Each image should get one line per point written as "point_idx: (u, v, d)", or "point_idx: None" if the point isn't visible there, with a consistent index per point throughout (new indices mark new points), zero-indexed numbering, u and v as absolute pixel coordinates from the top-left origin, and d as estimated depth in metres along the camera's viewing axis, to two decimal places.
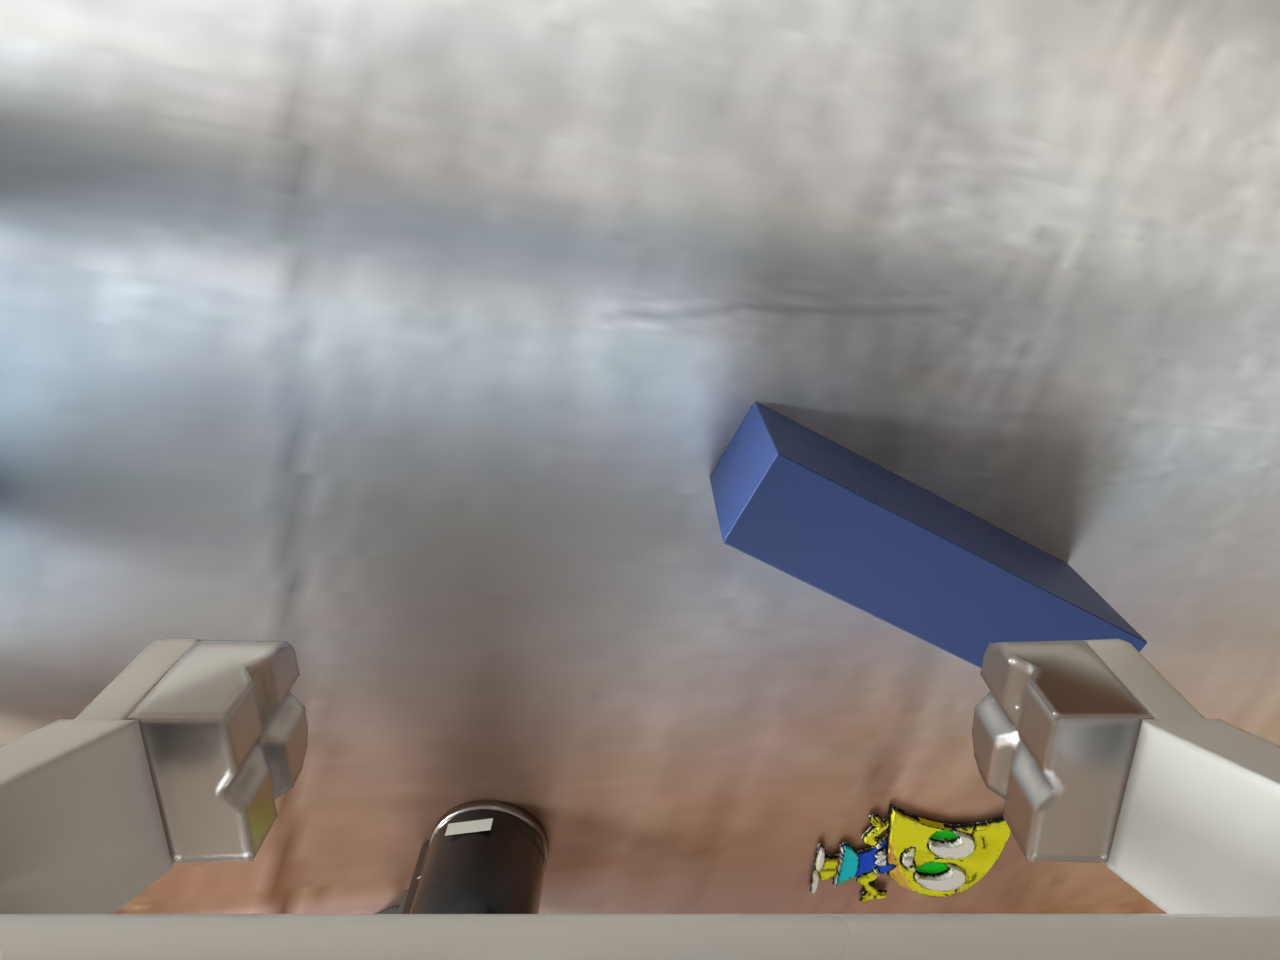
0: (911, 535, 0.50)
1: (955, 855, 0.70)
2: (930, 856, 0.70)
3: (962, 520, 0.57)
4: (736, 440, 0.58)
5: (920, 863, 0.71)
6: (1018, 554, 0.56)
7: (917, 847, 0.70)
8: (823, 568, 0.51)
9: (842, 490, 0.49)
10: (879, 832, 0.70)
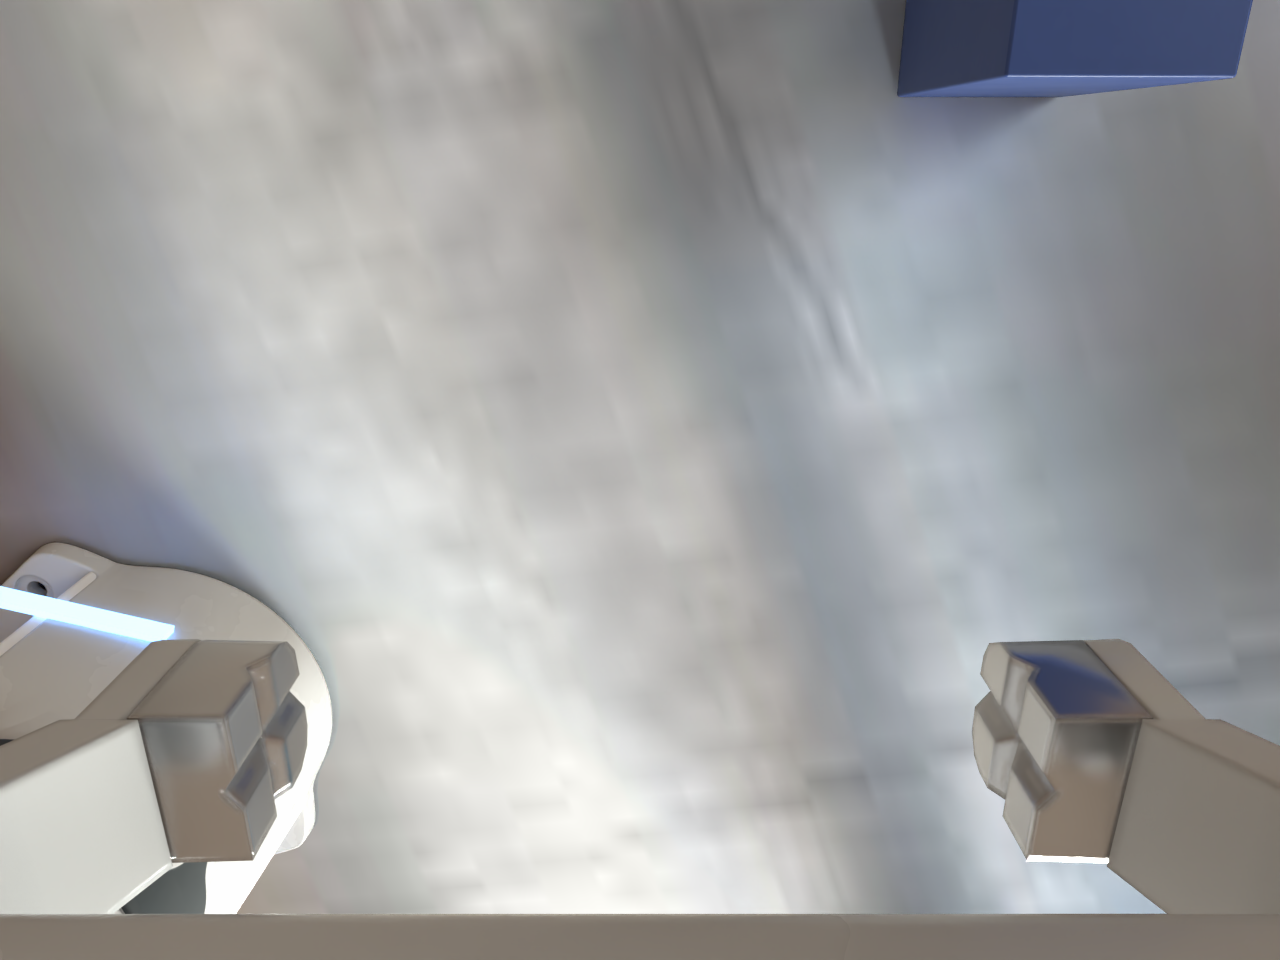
0: None
1: None
2: None
3: None
4: (978, 95, 0.32)
5: None
6: None
7: None
8: None
9: None
10: None
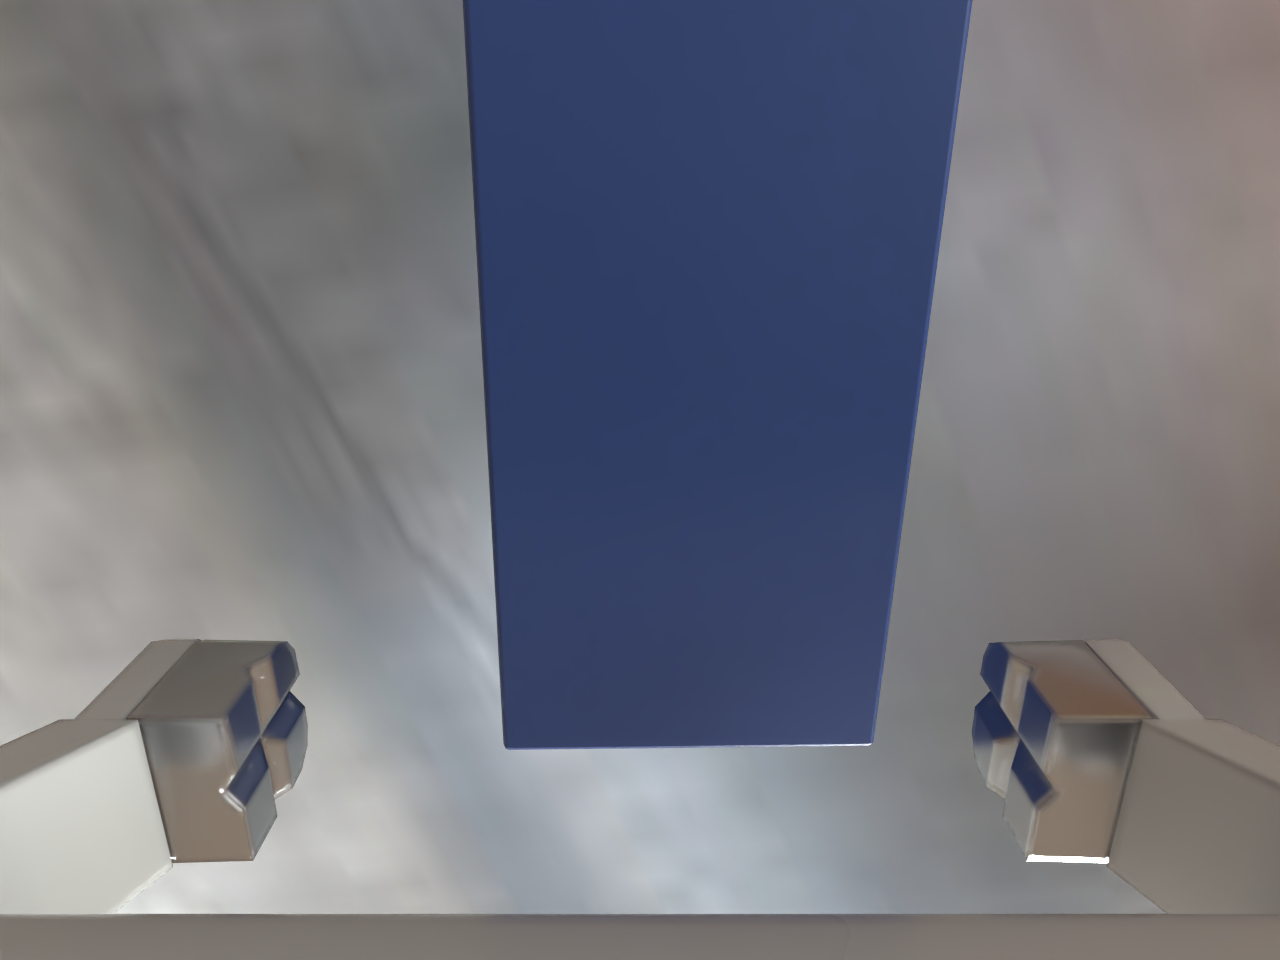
0: (529, 146, 0.11)
1: None
2: None
3: None
4: None
5: None
6: None
7: None
8: (831, 400, 0.12)
9: (505, 509, 0.13)
10: None
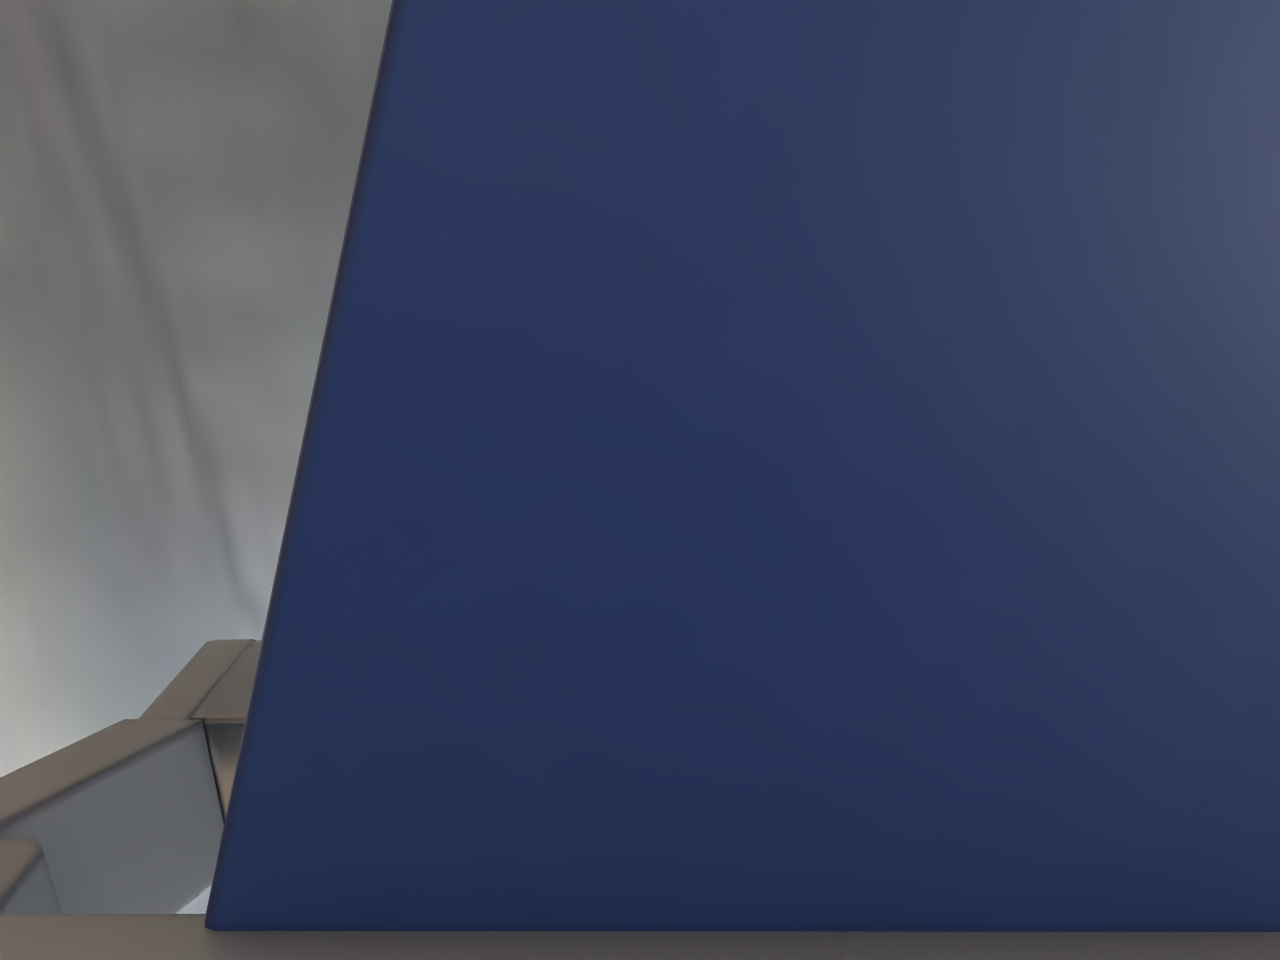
0: None
1: None
2: None
3: None
4: None
5: None
6: None
7: None
8: (1107, 875, 0.05)
9: (246, 887, 0.05)
10: None
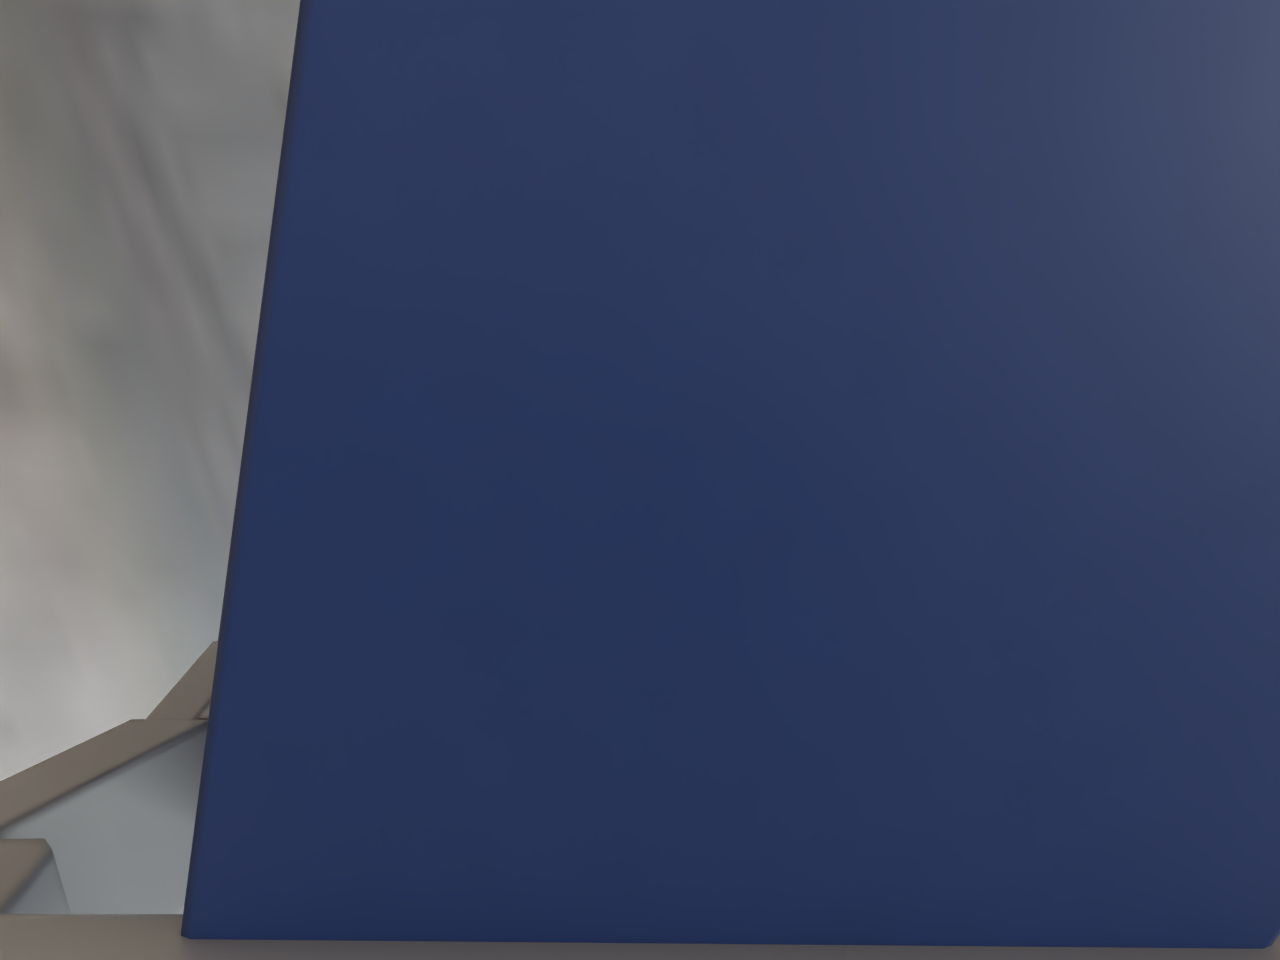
0: None
1: None
2: None
3: None
4: None
5: None
6: None
7: None
8: (1104, 853, 0.05)
9: (218, 890, 0.05)
10: None
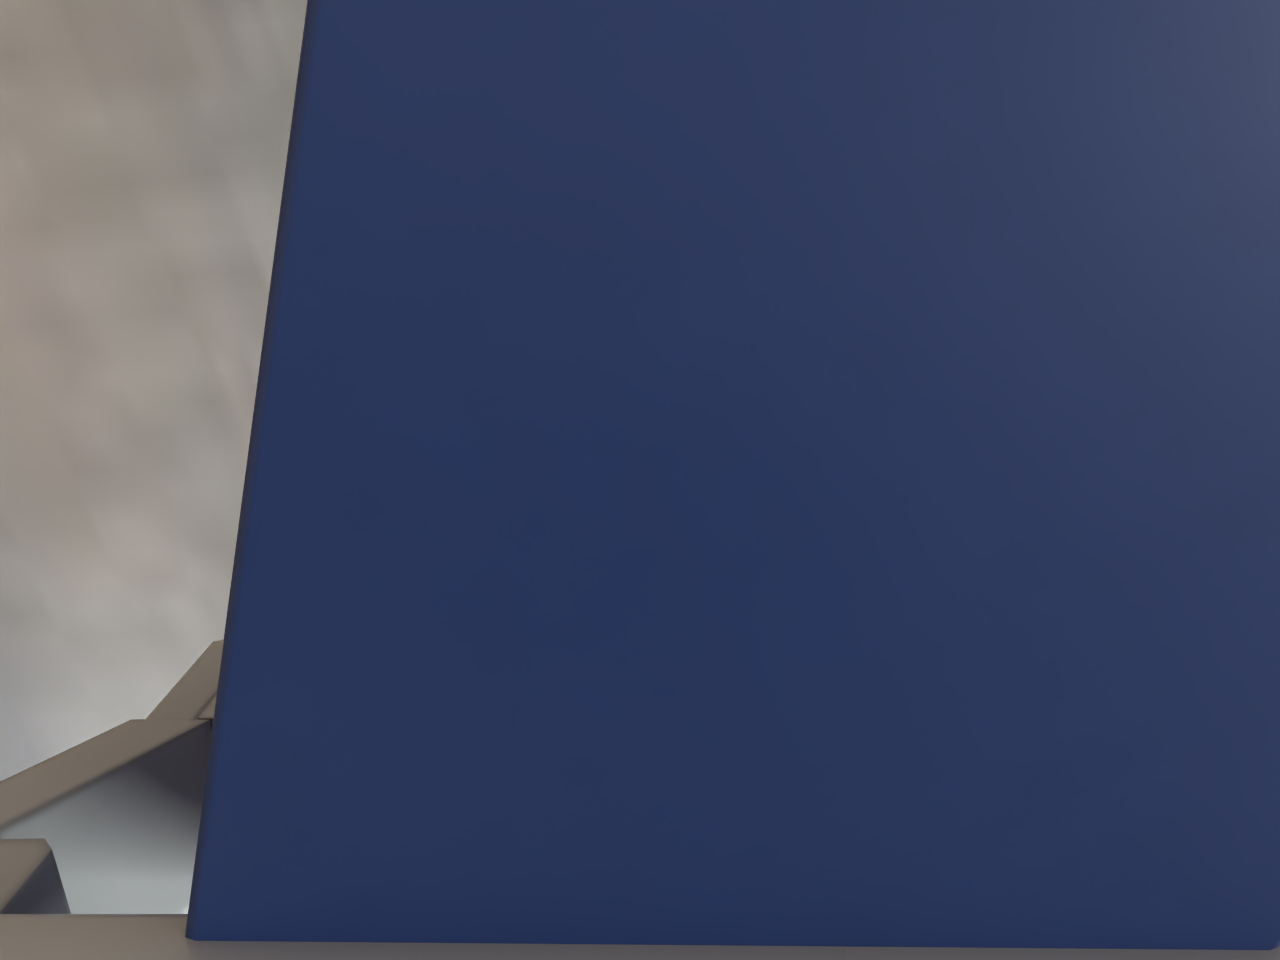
0: None
1: None
2: None
3: None
4: None
5: None
6: None
7: None
8: (1111, 853, 0.05)
9: (224, 889, 0.05)
10: None
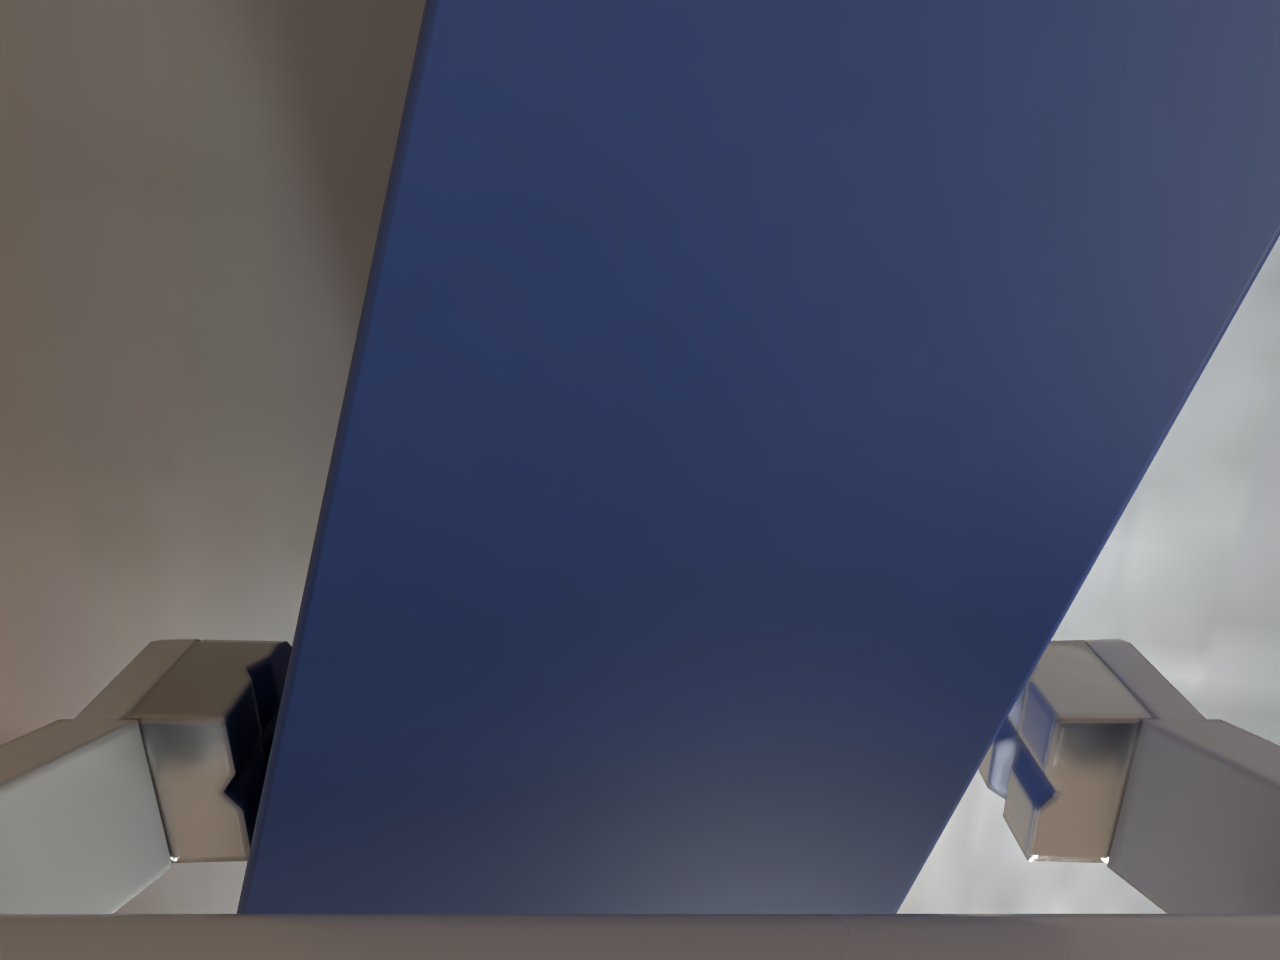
0: (540, 40, 0.06)
1: None
2: None
3: None
4: None
5: None
6: None
7: None
8: (911, 626, 0.07)
9: (316, 663, 0.07)
10: None
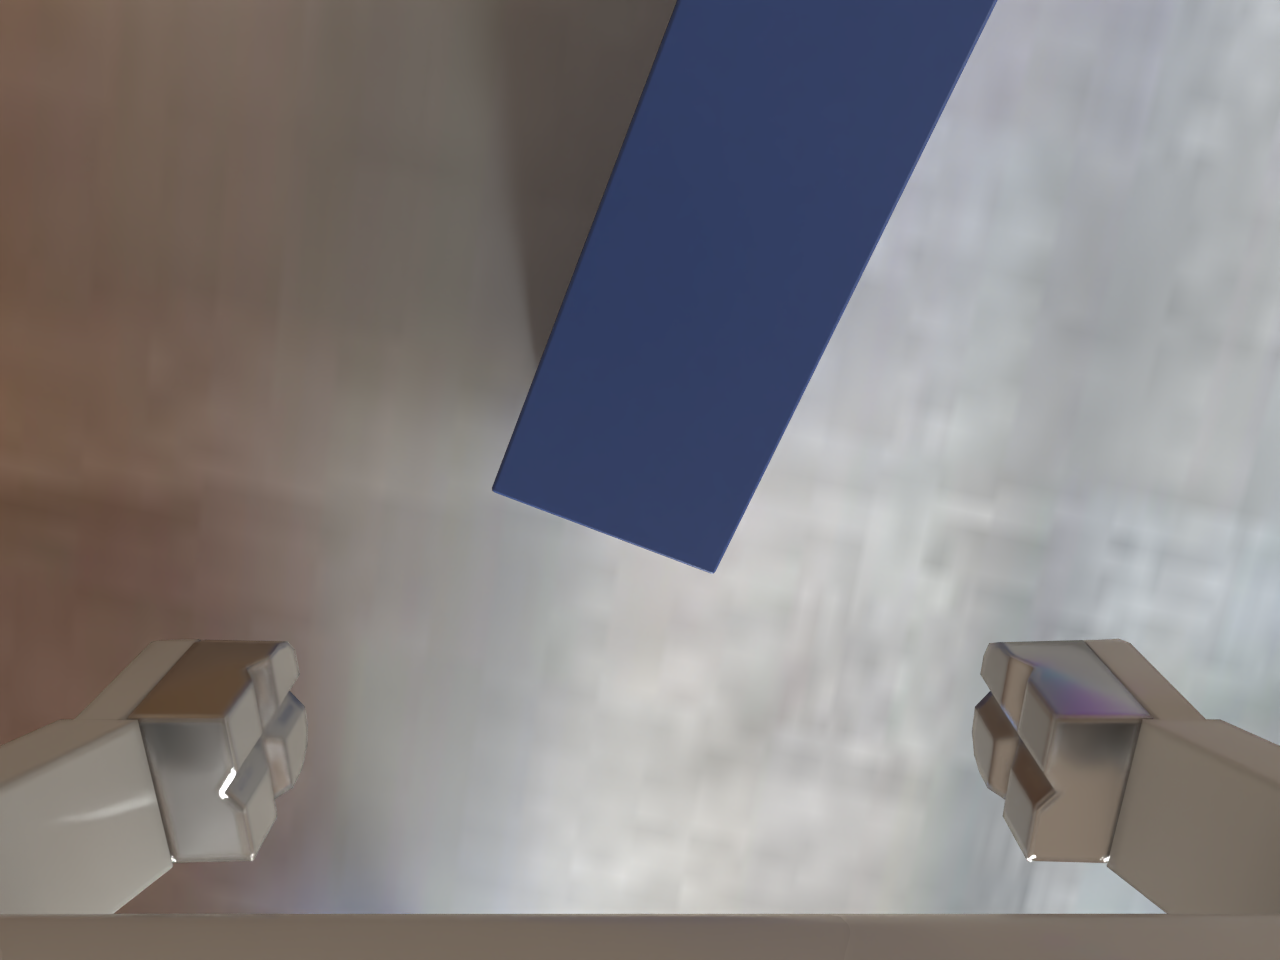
0: (662, 136, 0.19)
1: None
2: None
3: None
4: None
5: None
6: None
7: None
8: (768, 346, 0.21)
9: (559, 336, 0.21)
10: None
